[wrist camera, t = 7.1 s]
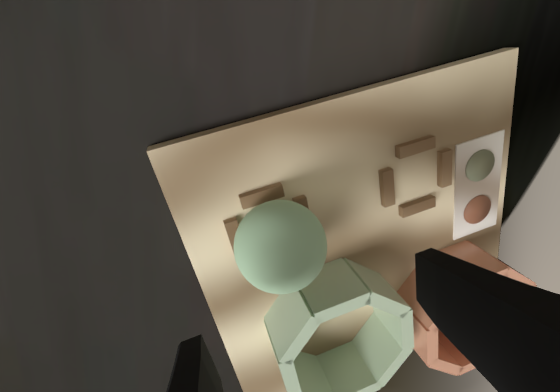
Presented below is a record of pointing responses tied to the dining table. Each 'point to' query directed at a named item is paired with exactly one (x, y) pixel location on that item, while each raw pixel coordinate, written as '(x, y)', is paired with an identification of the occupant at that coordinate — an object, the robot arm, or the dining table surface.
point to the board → (345, 188)
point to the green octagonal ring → (353, 355)
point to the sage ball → (280, 247)
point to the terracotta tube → (426, 334)
